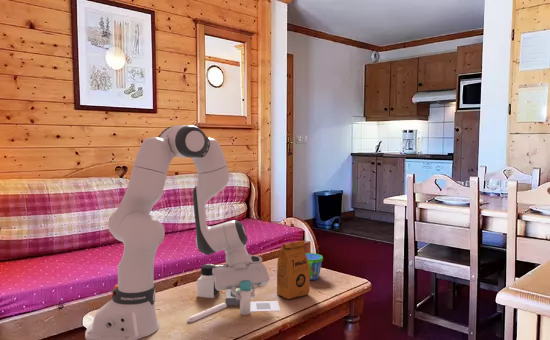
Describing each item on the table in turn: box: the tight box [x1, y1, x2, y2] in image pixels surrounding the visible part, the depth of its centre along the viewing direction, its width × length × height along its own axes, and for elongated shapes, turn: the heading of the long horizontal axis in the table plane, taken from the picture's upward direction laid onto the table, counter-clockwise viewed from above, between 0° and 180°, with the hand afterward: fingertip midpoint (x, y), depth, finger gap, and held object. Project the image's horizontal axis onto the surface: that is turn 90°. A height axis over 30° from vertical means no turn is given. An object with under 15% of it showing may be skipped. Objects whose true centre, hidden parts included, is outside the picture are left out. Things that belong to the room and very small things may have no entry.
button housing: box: [225, 289, 240, 307], centre depth 162 cm, size 8×8×3 cm
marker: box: [186, 302, 228, 323], centre depth 150 cm, size 18×2×2 cm, turn 142°
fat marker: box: [239, 280, 252, 316], centre depth 151 cm, size 4×4×12 cm
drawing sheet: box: [250, 300, 281, 313], centre depth 158 cm, size 12×9×1 cm
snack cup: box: [305, 252, 324, 281], centre depth 190 cm, size 16×10×10 cm
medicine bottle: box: [196, 263, 221, 299], centre depth 169 cm, size 7×7×12 cm
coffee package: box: [276, 240, 311, 300], centre depth 169 cm, size 10×12×22 cm
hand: (245, 298), depth 151 cm, fingers closed on fat marker, 4 cm apart
